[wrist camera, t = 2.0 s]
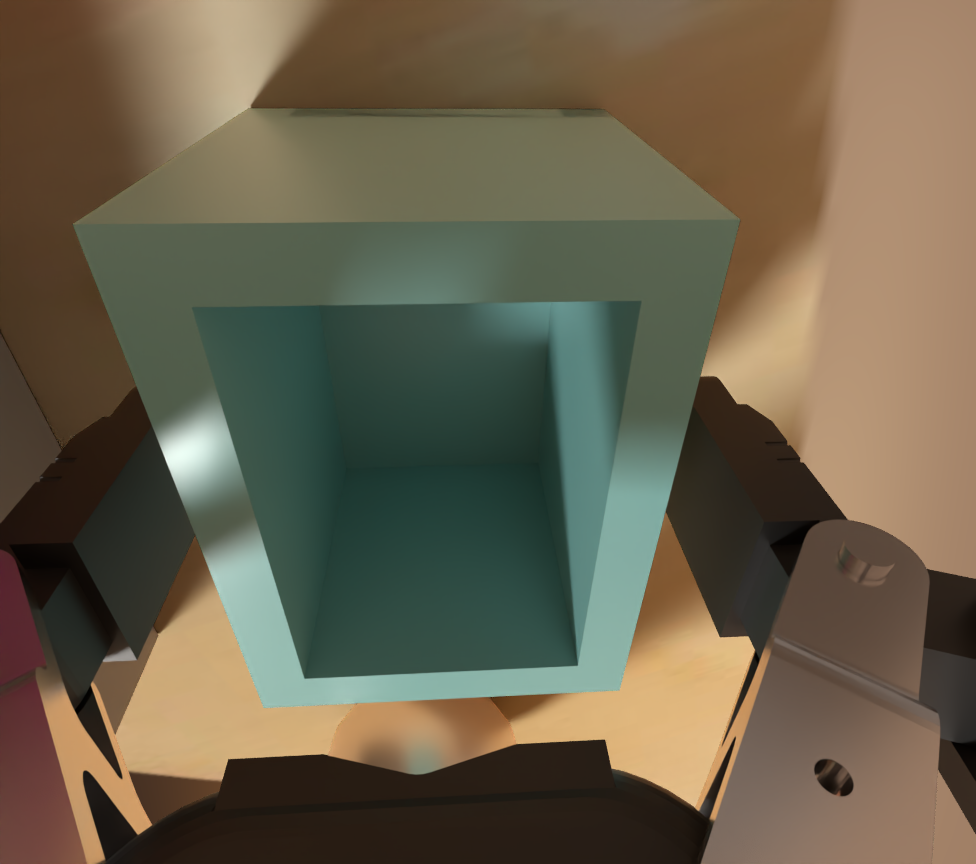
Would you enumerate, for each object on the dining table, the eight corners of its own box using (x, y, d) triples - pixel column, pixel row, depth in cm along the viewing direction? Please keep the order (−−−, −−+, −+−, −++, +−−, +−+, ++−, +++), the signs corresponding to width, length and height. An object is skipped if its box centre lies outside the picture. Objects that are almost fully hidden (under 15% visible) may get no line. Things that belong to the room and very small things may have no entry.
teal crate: (248, 108, 10) (72, 224, 5) (604, 108, 10) (741, 219, 6) (321, 473, 15) (263, 708, 10) (564, 465, 15) (619, 690, 10)
